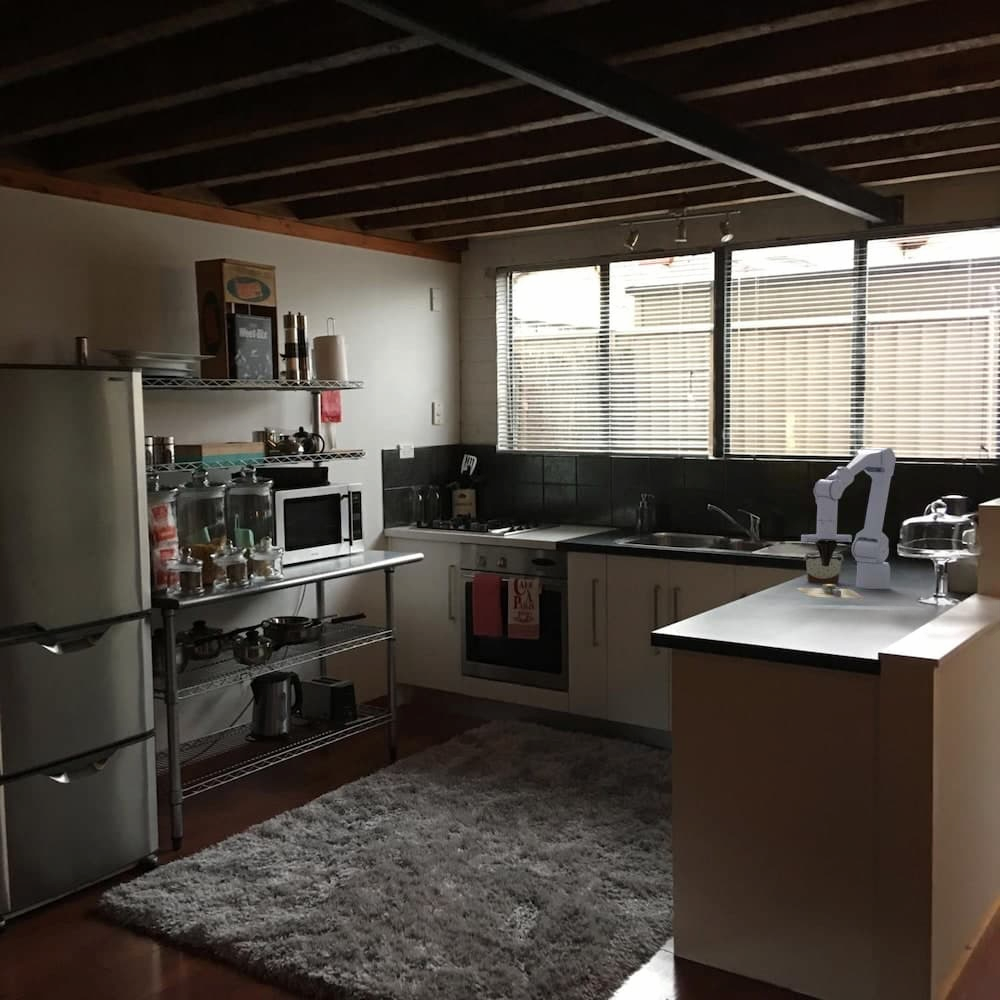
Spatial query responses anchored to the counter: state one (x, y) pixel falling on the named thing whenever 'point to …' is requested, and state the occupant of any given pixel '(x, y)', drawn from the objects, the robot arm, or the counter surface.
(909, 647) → the counter surface
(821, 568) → the food container
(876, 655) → the counter surface
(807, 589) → the plate
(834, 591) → the t key
